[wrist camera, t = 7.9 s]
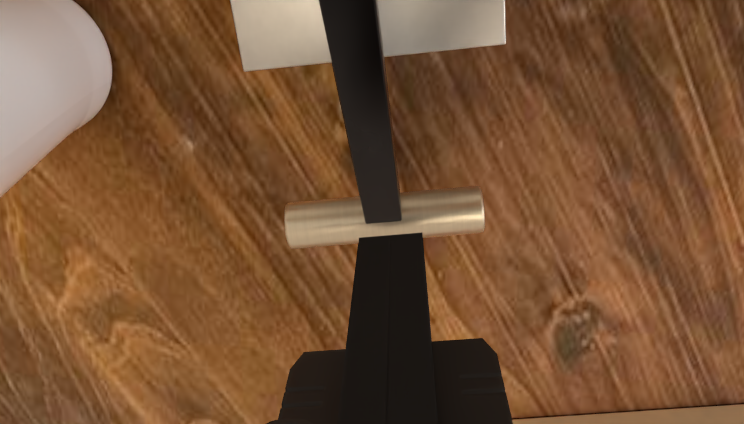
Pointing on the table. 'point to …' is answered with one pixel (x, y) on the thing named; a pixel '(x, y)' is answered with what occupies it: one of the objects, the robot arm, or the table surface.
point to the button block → (652, 417)
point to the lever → (373, 151)
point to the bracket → (397, 20)
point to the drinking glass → (46, 80)
